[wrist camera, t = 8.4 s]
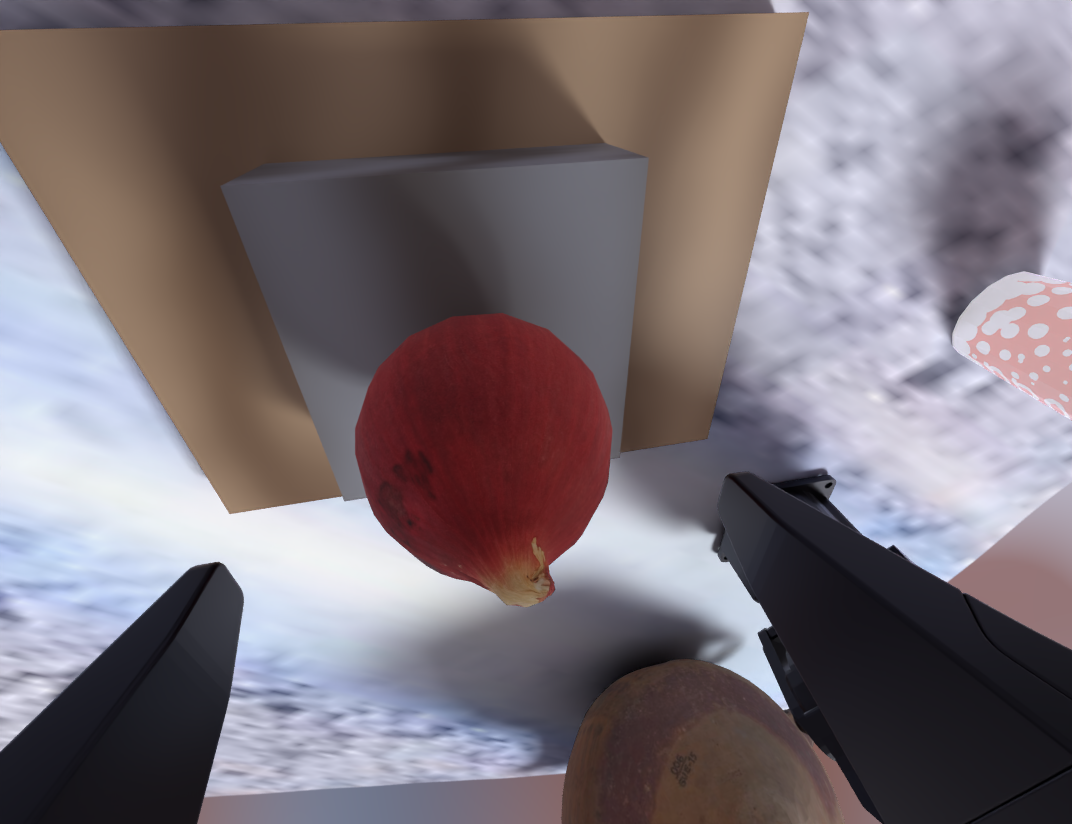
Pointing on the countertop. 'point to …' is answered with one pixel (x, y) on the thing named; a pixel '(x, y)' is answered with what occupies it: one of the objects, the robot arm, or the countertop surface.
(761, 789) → the jug
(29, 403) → the countertop surface
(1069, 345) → the beverage cup
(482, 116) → the stacking base
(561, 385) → the onion
